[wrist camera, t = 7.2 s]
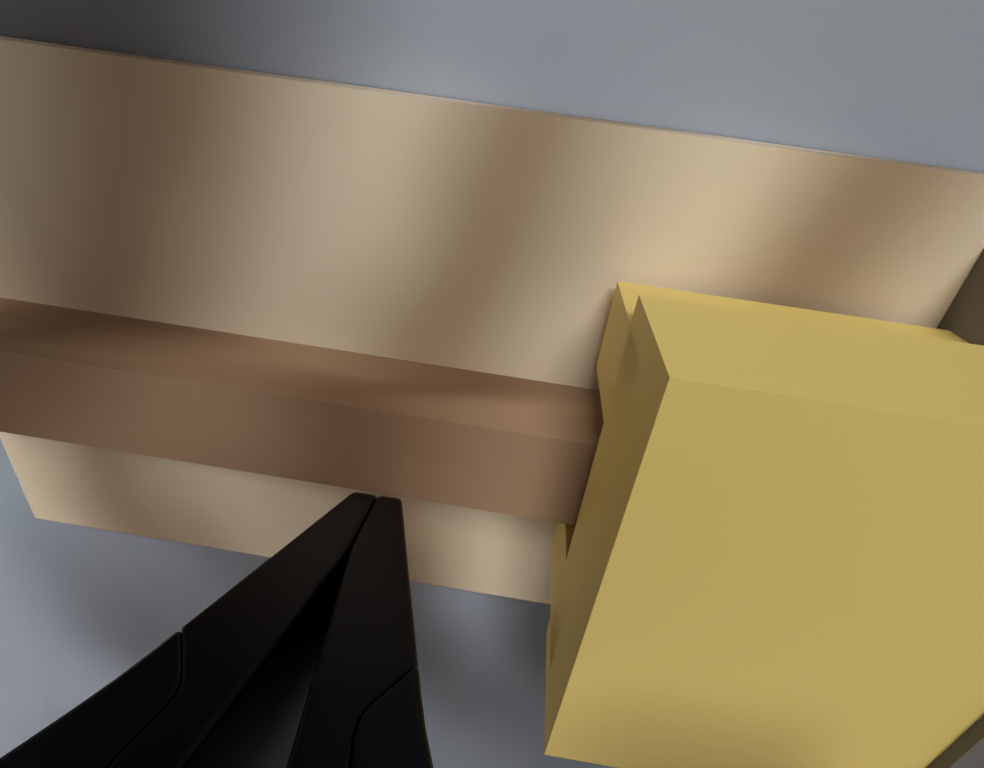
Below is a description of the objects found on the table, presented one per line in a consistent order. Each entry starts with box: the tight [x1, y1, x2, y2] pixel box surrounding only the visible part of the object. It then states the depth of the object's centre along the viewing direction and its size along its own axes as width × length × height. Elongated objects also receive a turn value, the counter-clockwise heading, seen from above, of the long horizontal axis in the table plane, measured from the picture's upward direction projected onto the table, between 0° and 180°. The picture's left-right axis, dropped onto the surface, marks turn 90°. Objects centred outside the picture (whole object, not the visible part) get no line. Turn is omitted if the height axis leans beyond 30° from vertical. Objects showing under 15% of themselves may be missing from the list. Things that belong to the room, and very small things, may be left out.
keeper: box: [544, 281, 984, 768], centre depth 10 cm, size 6×8×4 cm
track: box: [0, 36, 984, 768], centre depth 10 cm, size 23×12×6 cm, turn 83°
